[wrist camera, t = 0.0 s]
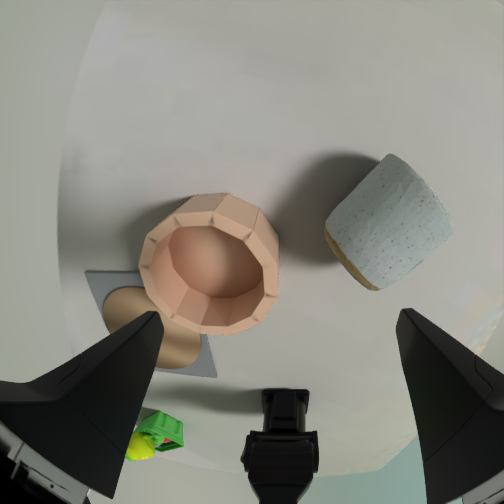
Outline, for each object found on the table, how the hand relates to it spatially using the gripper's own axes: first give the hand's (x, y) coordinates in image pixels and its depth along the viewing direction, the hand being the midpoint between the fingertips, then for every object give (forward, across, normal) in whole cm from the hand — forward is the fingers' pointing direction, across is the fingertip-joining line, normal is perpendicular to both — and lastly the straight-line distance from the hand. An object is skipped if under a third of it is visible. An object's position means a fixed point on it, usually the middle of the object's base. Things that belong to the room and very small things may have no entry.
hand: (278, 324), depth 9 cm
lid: (+14, +16, +14) cm, 26 cm away
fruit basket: (+15, +24, +40) cm, 49 cm away
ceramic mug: (+15, -9, +1) cm, 18 cm away
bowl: (+15, +6, +4) cm, 16 cm away
